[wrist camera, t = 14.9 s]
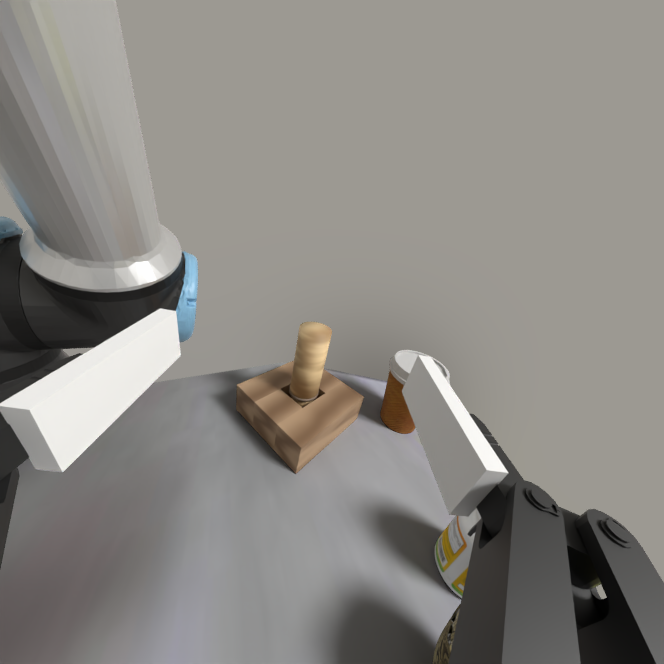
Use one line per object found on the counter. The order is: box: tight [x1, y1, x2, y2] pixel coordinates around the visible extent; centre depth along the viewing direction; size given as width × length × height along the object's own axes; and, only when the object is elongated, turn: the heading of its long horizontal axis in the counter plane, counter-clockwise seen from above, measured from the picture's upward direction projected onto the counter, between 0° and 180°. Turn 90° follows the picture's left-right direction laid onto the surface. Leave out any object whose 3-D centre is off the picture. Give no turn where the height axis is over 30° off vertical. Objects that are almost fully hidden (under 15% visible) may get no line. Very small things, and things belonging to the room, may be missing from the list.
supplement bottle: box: [435, 508, 481, 598], centre depth 23 cm, size 5×5×10 cm
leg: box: [289, 322, 332, 408], centre depth 35 cm, size 5×5×16 cm
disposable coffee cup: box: [380, 350, 450, 434], centre depth 40 cm, size 10×10×12 cm
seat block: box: [236, 361, 364, 474], centre depth 38 cm, size 14×14×5 cm
